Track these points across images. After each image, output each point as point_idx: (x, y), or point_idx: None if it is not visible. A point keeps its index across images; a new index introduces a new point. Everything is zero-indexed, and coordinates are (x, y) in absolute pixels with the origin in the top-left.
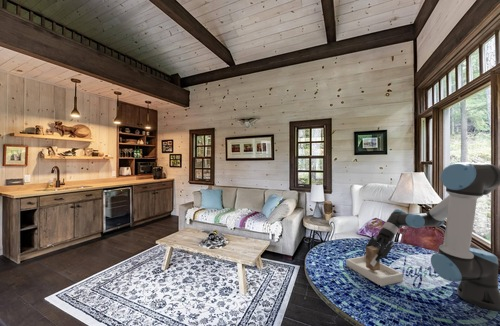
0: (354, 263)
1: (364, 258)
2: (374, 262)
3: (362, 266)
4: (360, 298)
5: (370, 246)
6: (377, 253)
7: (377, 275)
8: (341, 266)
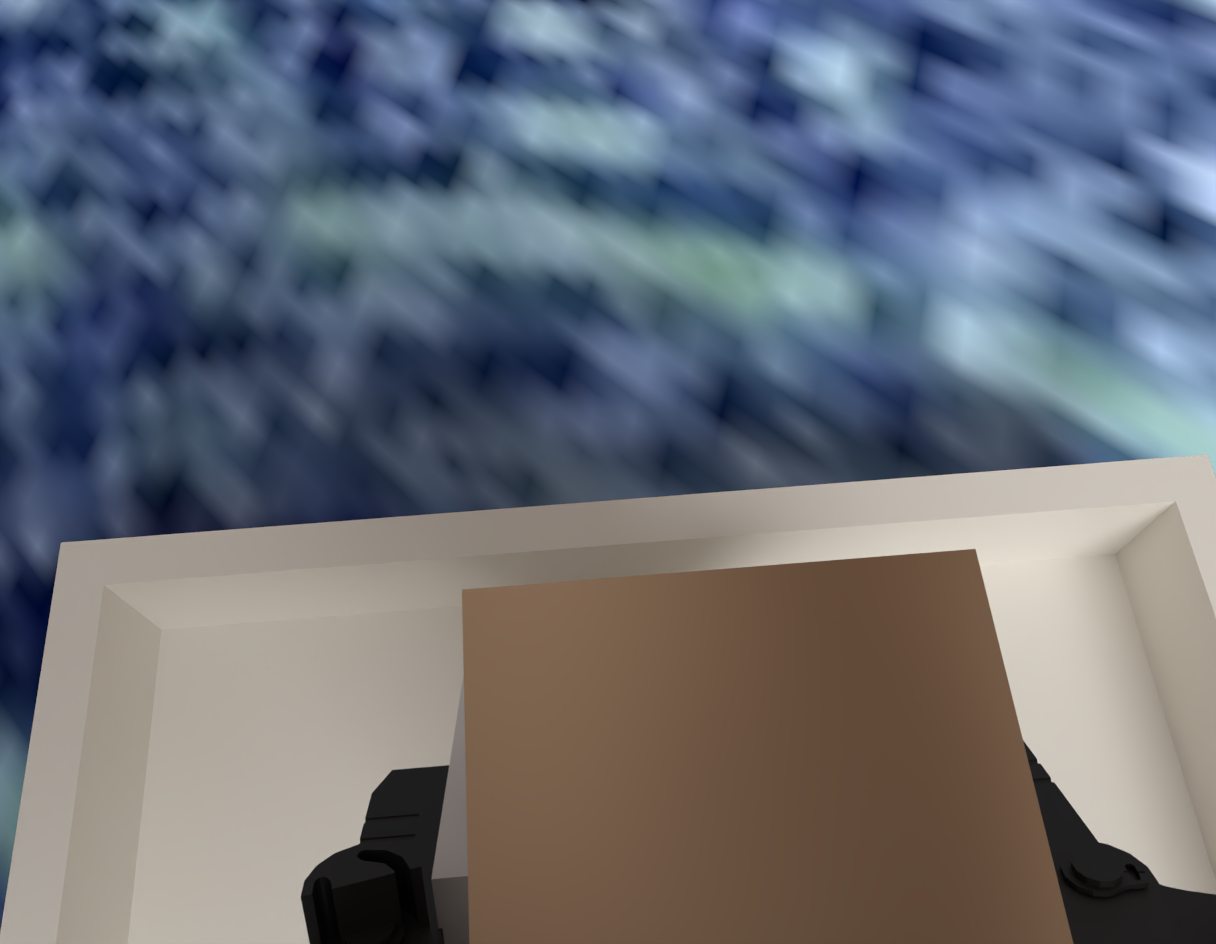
0: (922, 488)
1: None
2: None
3: None
4: (67, 64)
5: (1009, 896)
6: (408, 869)
7: None
8: (1090, 396)
